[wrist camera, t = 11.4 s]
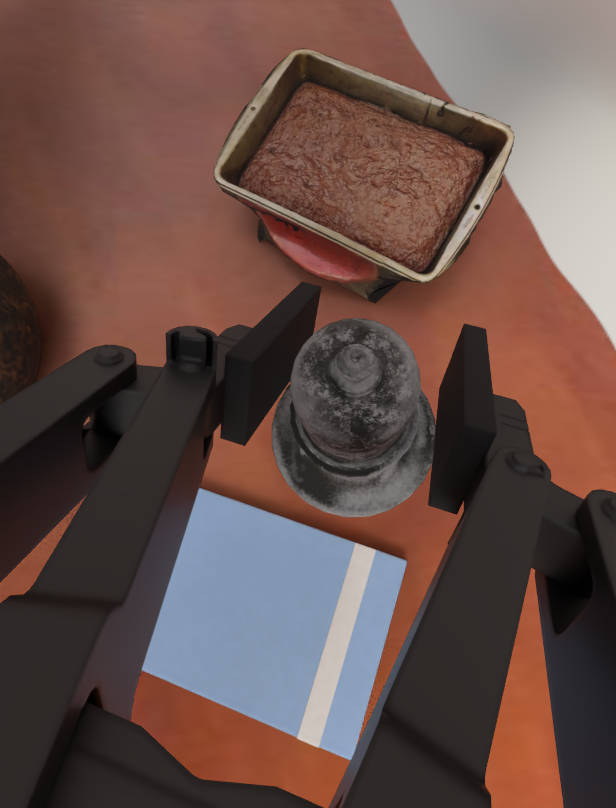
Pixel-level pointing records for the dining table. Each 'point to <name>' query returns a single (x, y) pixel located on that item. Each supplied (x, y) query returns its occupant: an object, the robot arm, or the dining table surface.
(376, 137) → the baking dish
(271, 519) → the cloth
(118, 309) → the dining table surface
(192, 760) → the dining table surface
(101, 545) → the robot arm
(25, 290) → the glass bottle
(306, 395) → the salt shaker
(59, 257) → the dining table surface
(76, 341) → the dining table surface
